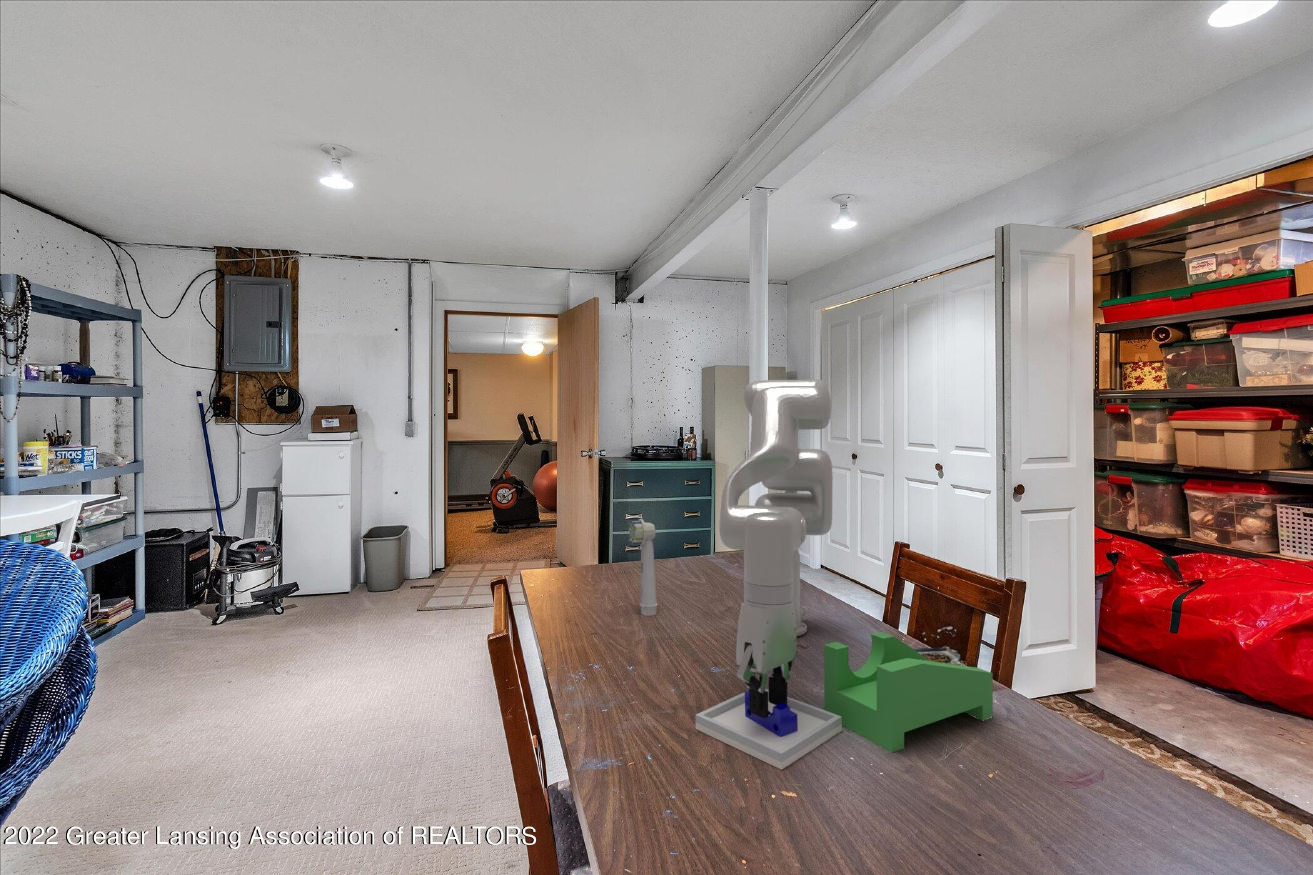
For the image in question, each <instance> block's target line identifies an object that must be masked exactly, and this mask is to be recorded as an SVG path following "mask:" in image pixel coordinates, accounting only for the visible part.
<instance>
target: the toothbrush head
mask: <svg viewBox="0 0 1313 875" xmlns="http://www.w3.org/2000/svg"><path fill="white" fill-rule="evenodd" d="M629 525H630V526H629V528H628V535H629V536H630V538H629V541H630V543H631V544H632V545H639V546H640V602H639V606H640V614H641V615H642V616H645V617H646V616H647V617H651V616H655V615H656V614H657V612H658V611H657V609H658V608H657V606H658V605H659V603H658V602H657V590H656V589H657V588H656V570H655V569H656V568H655V555H654V554H655V553H654V552H655V550H654V539H655V537H656V526H655V524H653V523H651V522H645V521H644V519H643V518H640V519H639V518H638V519H637V520H635V521H633V520H631V521H630V522H629Z"/></svg>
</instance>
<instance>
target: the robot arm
mask: <svg viewBox="0 0 1313 875" xmlns="http://www.w3.org/2000/svg"><path fill="white" fill-rule="evenodd" d="M743 399H744V404H745V407H746V409H747V411H748V413H749V414H750V416H751V429H750V431H751V432H750V445H749V446H750V448H749V454H748V455H747V457H745V458H744V459H743V460H742V461H740V463H738V464H737V466H736V467H735V468H734V469H733V470H732V471H731V473H730V475H729V476H728V478H727V480H726V482H725V484H724V486H723V489H722V494H721V502H720V512H719V513H720V515H719V526H718V527H719V537H720V540H721V541H722V543H723V545H724V546H725V547H727V549H731V550H735V551H736V550H737V551H743V574H744V575H743V580H744V581H743V602H742V603H741V605H740V610H739V616H738V623H737V632H736V633H737V634H736V649H735V650H736V651H735V652H736V653H735V654H736V655H735V656H736V657H735V658H736V659H735V660H736V661H735V662H736V665H737V666H738V669H737V673H736V676H737V678H739V679H740V680H742V681H743V682H744V683H745V686H746V688H748V690H749V711H750V713H752V714H754V715H757V716H759V717H762V718H764V719H765V718H767V717H768V692H767V691H765V689H767V681H768V690H769V702H770V703H772V704H774V705H779V704H782V703H784V704H785V705H787V697H788V682H789V680H790V676H791V675H790V671H791V668H792V666H793V663H794V661H795V659H796V658H797V656H798V651H797V637H799V636H802V635H804V634H805V633H806V632H807V631H808V626H807V624H806V622H804V621H802V617H803V616H805V615H807V614H809V613H810V609H809V607H808V606H807V605H804V606H801V555H800V552H799V548H801V546H802V544H804V542H805V541H806V536H824V535H826V534H828V533H829V532H830V531H831V528H832V524H833V482H834V481H833V463H832V459H831V457H830V454H828V452H826V451H825V450H822V449H818V448H799V446H798V440H799V439H798V437H799V436H798V434H799V433H798V432H799V431H798V430H800V431H801V430H802V431H803V430H808V431H809V430H823V429H826V428H827V427H828V425H829V423H830V420H831V417H832V400H831V394H830V390H829V387H828V385H827V383H826V381H824V380H823V379H766V380H756V381H753V382H750V383H748V384H747V385H746V386H745V388H744V392H743ZM759 483H762V485H763V487H765V488H766V489H768V490H773V491H782V492H769V493H765V494H762V495H760V496H759V497H758V498H757V499H756V500H755V504H754V505H745V504H744V505H742V504H741V505H738V503H739V500H740V498H741V496H742V495H743V494H744V492H745V491H747V490H748V489H750V488H751V487H752V486H755V485H756V484H759ZM783 491H784V492H783ZM786 491H787V492H786ZM794 492H809V493H794ZM768 672H770V674H771V676H769V677H768ZM756 674H758V675H759V678H757V677H756Z"/></svg>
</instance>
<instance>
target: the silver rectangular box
mask: <svg viewBox="0 0 1313 875" xmlns="http://www.w3.org/2000/svg"><path fill="white" fill-rule="evenodd" d="M945 629H947V632H948V631H949V630H952V629H953V627H952V626H951V625H950V626H947V627H942V628H941V629H938V630H937V632H941V631H942V630H943V631H945ZM954 631H955V632H956V631H957V630H956V629H954ZM945 632H946V631H945ZM925 634H926V632H922V637H923V639H924V641H927V638H926V637H925V638H924V636H923V635H925ZM955 634H956V633H954V634H952V637H955V636H956V635H955ZM931 636H933V637H934V635H933V634H931ZM936 637H937V638H940V636H938V635H937V636H936ZM914 644H916V639H915V640H914V641H912V644H909V645H908V646H909V647H911V646H912V645H914ZM913 649H914V650H915V651H916V652H918V653H919V654H921V655H922V656H924V657H925V658H927V659H928V660H929V661H932V662H939V663H947V664H954V665H961V666H967V665H968V664H967V663H966V661H963V660H960V659H961V654H959V653H958V651H957V650H953V649H950V646H945V645H944V646H943V647H930V648H929V647H919V648H913ZM964 662H965V663H964Z"/></svg>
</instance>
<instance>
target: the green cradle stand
mask: <svg viewBox="0 0 1313 875" xmlns="http://www.w3.org/2000/svg"><path fill="white" fill-rule="evenodd" d="M870 636H871V648H870V653H869V655H868V658H867V660H866V661H865V663H864V664H863V665H862V666H861V667H860V668H859V669H857V670H855V671H852V669H851V667H850V665H849V664H850V663H849V662H850V661H849V646H848V645H845V644H843V643H840V642H839V641H838V642H837V641H834V642H830V643H825V644H824V646H823V647H824V648H823V649H824V650H823V655H824V657H823V658H824V659H823V660H824V662H823V663H824V664H823V665H824V667H823V668H824V670H823V672H824V673H823V675H824V676H823V677H824V678H823V679H824V681H823V682H824V687H823V689H824V693H823V695H824V701H823V702H824V704H823V705H824V706H823V708H824V709H823V710H825V711H828V712H831V713H833V714H836V715H839V716H842V727H843V728H846V729H847V730H850V731H852V732H853V733H855V734H857V735H858V736H860V737H863V739H865V740H868V741H869V742H871V743H873V744H875V745H877V746H878V747H879V748H880V747H881V748H882V749H884V750H886V751H887V752H890V753H891V754H892V753H896V752H898V751H901V750H904V749H905V733H907V732H910V731H912V730H916V729H918V728H921V727H923V726H926V725H931V724H932V723H936V722H938V721H941V720H944V719H947V718H950V717H952V716H955V715H958V714H961V713H964V712H965V713H964V714H966V713H968V714H967V715H968V716H969V715H972V716H975V717H976V718H978V719H980V720H982V721H983V720H986V719H987V718H990V717H991V716H993V717H994V712H993V711H994V706H993V705H994V701H993V698H994V697H993V688H994V687H993V686H994V684H993V674H994V673H993V672H990V671H988V670H986V669H985V670H984V669H982V668H980V667H973V666H967V665H963V666H961V665H960V664H955V665H954V664H947V663H939V662H932V661H929V660H928V659H927V658H928V657H927V658H926V656H925V655H924V656H922V655H923V654H919V653H918V652H916V651H915V650H914V649H915V648H912V647H911V646H909V645H908V644H907V643H905V642H903V640H900V639H899V638H897V637H896V636H895V635H892V634H889V633H886V632H883V631H879V632H874V633H870ZM978 719H977V720H978ZM980 720H979V721H980ZM982 721H981V722H982ZM986 721H987V720H986Z"/></svg>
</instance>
